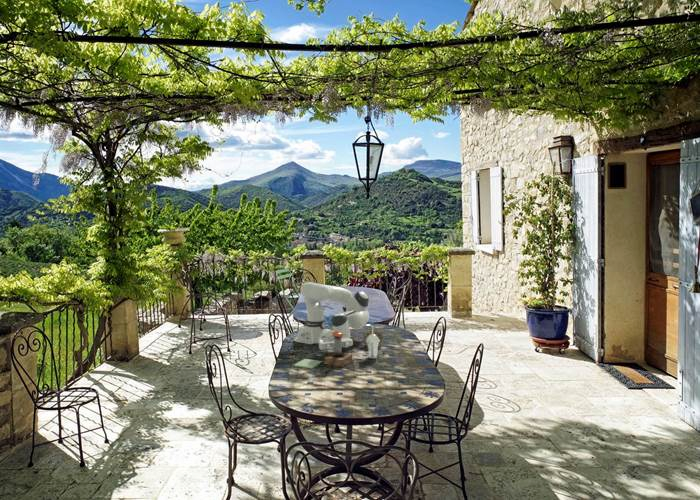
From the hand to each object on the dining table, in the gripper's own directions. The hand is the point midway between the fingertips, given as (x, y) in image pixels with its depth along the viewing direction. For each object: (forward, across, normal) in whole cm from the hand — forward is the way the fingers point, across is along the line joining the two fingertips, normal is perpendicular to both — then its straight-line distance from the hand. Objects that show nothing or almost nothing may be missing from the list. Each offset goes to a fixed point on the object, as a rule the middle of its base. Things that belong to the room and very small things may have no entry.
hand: (339, 347), depth 304 cm
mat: (-3, +18, -9) cm, 20 cm away
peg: (+1, +1, -9) cm, 9 cm away
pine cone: (-25, -26, -10) cm, 37 cm away
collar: (+1, +1, -9) cm, 9 cm away
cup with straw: (-1, -21, -9) cm, 23 cm away
